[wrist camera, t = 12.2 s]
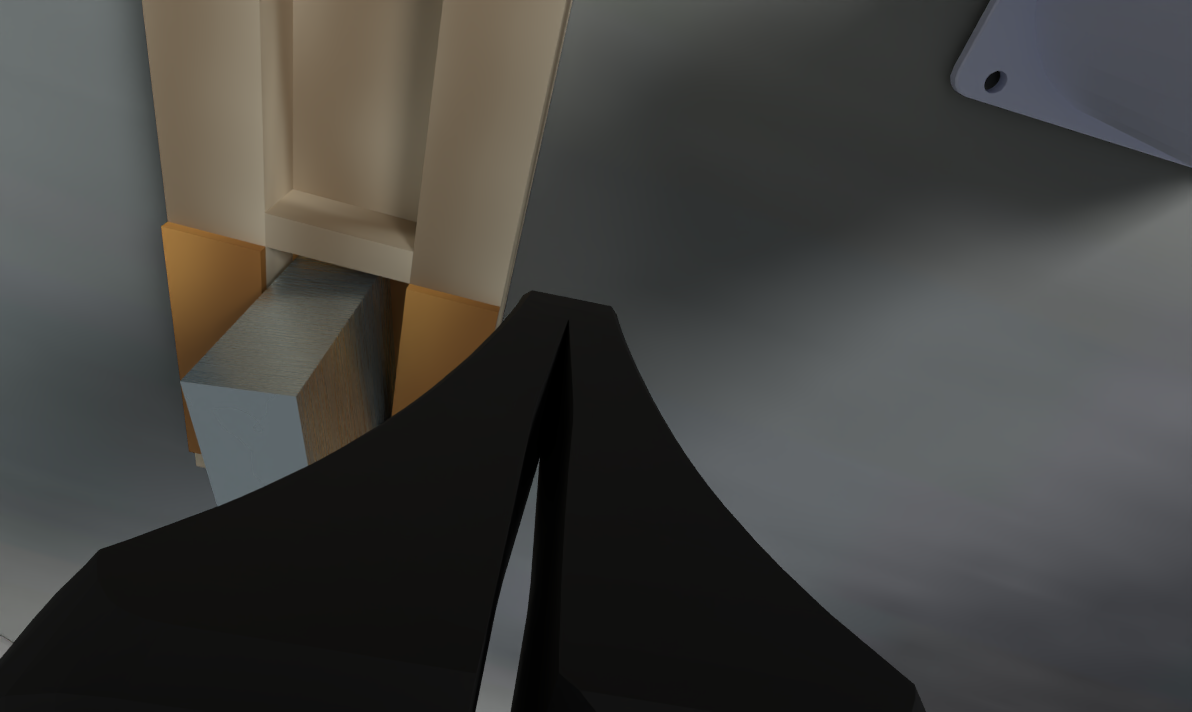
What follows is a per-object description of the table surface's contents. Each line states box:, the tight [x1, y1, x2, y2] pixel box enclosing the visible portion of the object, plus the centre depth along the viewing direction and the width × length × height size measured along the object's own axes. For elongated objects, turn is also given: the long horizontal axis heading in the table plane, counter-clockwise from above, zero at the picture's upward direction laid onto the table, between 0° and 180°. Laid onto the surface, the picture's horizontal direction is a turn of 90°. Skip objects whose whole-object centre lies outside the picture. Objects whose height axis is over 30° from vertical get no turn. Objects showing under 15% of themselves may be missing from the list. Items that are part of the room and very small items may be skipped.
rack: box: [142, 0, 573, 468], centre depth 16 cm, size 9×29×3 cm, turn 165°
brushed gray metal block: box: [180, 255, 396, 506], centre depth 19 cm, size 2×7×6 cm, turn 173°
